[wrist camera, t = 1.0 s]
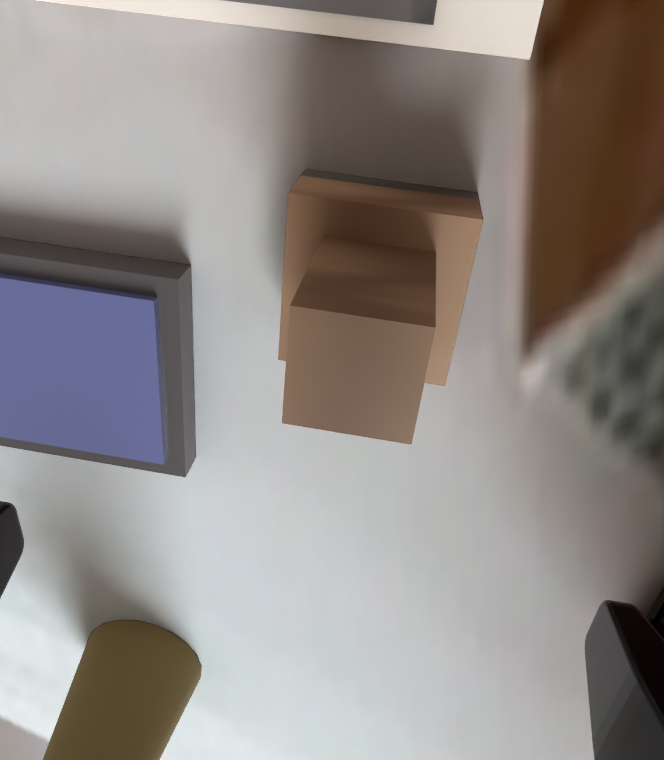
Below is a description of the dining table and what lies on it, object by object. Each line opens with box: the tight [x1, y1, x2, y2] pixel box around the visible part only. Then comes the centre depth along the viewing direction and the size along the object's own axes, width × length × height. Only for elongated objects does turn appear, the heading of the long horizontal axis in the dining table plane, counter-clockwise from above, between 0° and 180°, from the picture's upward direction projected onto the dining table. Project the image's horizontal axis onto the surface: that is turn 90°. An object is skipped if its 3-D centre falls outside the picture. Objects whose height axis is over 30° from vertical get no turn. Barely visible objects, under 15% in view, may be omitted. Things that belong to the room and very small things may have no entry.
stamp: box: [278, 169, 483, 444], centre depth 17 cm, size 5×5×7 cm
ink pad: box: [0, 237, 196, 477], centre depth 22 cm, size 8×8×2 cm
